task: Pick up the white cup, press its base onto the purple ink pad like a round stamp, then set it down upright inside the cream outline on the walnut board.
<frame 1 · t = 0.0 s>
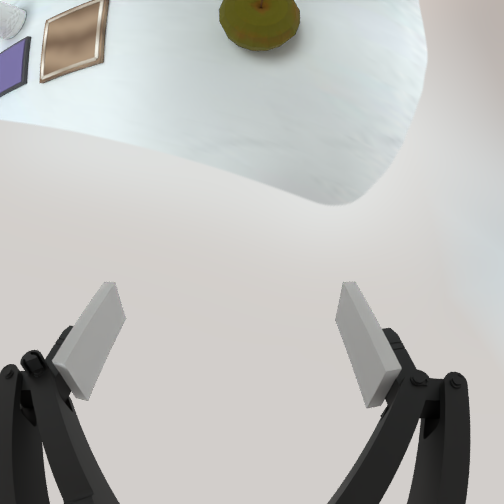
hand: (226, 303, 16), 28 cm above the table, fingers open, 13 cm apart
ink pad: (11, 68, 27), on the table
apple: (257, 28, 30), on the table
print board: (72, 39, 28), on the table
white cup: (15, 24, 23), on the table
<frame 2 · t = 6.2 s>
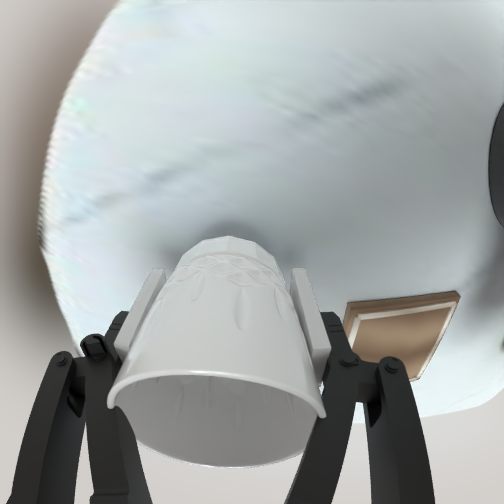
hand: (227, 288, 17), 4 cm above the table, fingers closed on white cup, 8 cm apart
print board: (390, 346, 26), on the table
white cup: (228, 283, 17), point 3 cm above the table, touching gripper
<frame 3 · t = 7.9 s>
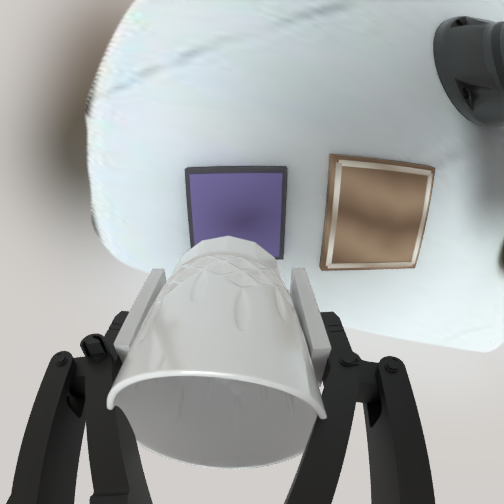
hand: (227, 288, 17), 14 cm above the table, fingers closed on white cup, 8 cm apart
ink pad: (236, 213, 30), on the table
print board: (378, 215, 30), on the table
white cup: (228, 284, 17), point 14 cm above the table, touching gripper
when the fingers open (2 cm above the table, at t = 9.9 s): white cup stays where it is, resting on ink pad.
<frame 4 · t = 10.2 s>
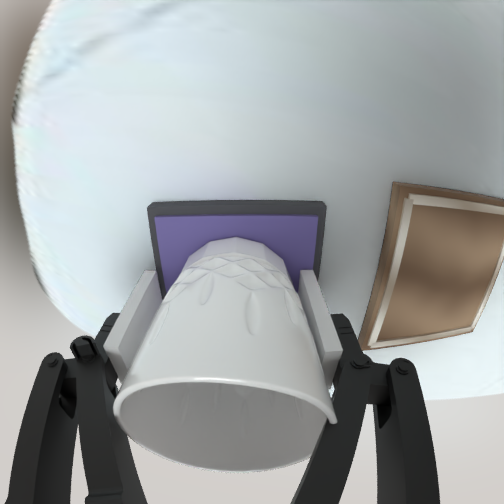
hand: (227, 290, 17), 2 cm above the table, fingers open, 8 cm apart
ink pad: (237, 275, 18), on the table
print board: (444, 271, 18), on the table
white cup: (235, 285, 17), point 1 cm above the table, touching ink pad
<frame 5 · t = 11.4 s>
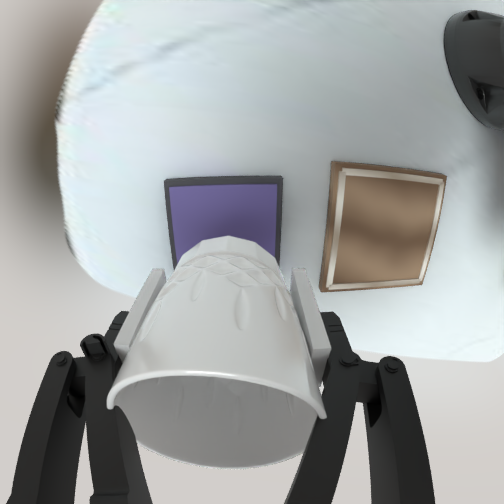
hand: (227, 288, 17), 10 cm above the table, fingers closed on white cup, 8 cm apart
ink pad: (224, 230, 26), on the table
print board: (384, 229, 26), on the table
white cup: (228, 283, 17), point 9 cm above the table, touching gripper
when the fingers open (2 cm above the table, at t = 15.1 s): white cup stays where it is, resting on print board.
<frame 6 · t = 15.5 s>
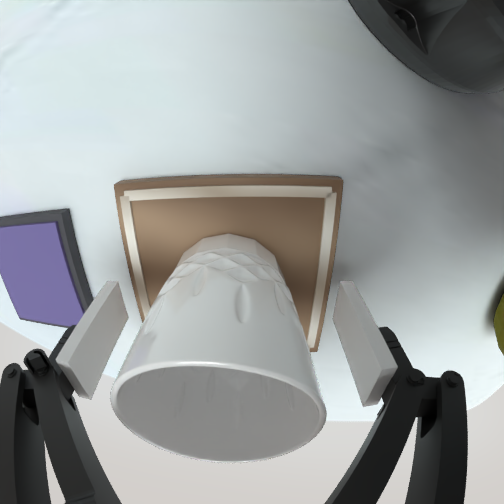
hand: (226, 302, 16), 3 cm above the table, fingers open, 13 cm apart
ink pad: (39, 270, 18), on the table
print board: (229, 274, 18), on the table
white cup: (229, 281, 18), point 1 cm above the table, touching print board
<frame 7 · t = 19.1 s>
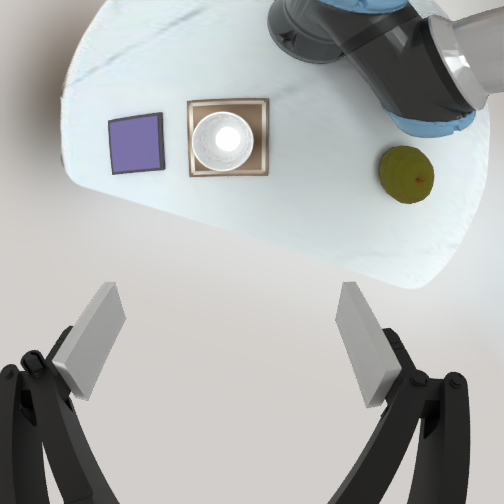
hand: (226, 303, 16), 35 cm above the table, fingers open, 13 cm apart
ink pad: (136, 143, 43), on the table
apple: (392, 168, 46), on the table
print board: (227, 136, 43), on the table
white cup: (227, 137, 43), point 1 cm above the table, touching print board
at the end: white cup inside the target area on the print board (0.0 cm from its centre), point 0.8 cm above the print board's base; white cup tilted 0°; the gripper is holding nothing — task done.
